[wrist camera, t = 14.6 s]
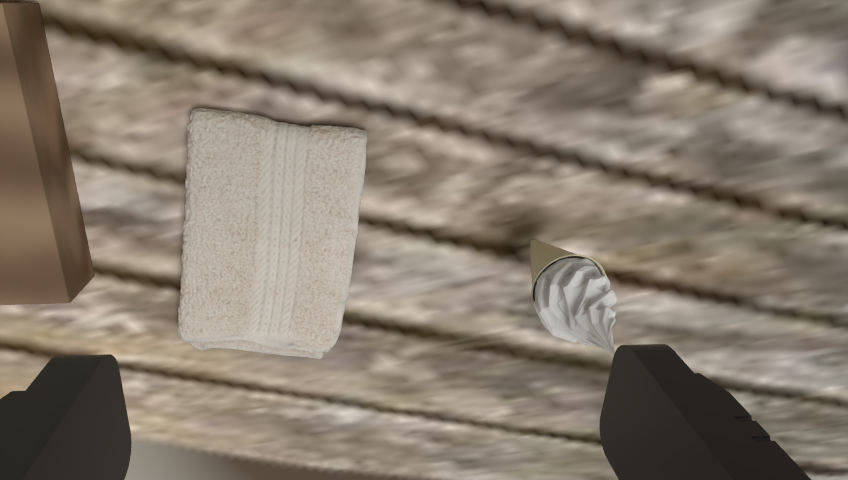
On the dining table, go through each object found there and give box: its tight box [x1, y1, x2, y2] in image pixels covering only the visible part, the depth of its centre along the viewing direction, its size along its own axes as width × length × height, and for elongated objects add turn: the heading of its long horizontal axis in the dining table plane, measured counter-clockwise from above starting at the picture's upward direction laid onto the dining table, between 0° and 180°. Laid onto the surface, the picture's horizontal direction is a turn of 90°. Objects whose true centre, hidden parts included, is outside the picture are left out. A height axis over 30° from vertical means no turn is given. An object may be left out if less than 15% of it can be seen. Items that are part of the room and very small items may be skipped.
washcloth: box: [177, 108, 368, 359], centre depth 41 cm, size 12×18×3 cm, turn 170°
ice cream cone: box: [530, 239, 617, 354], centre depth 38 cm, size 5×5×15 cm
